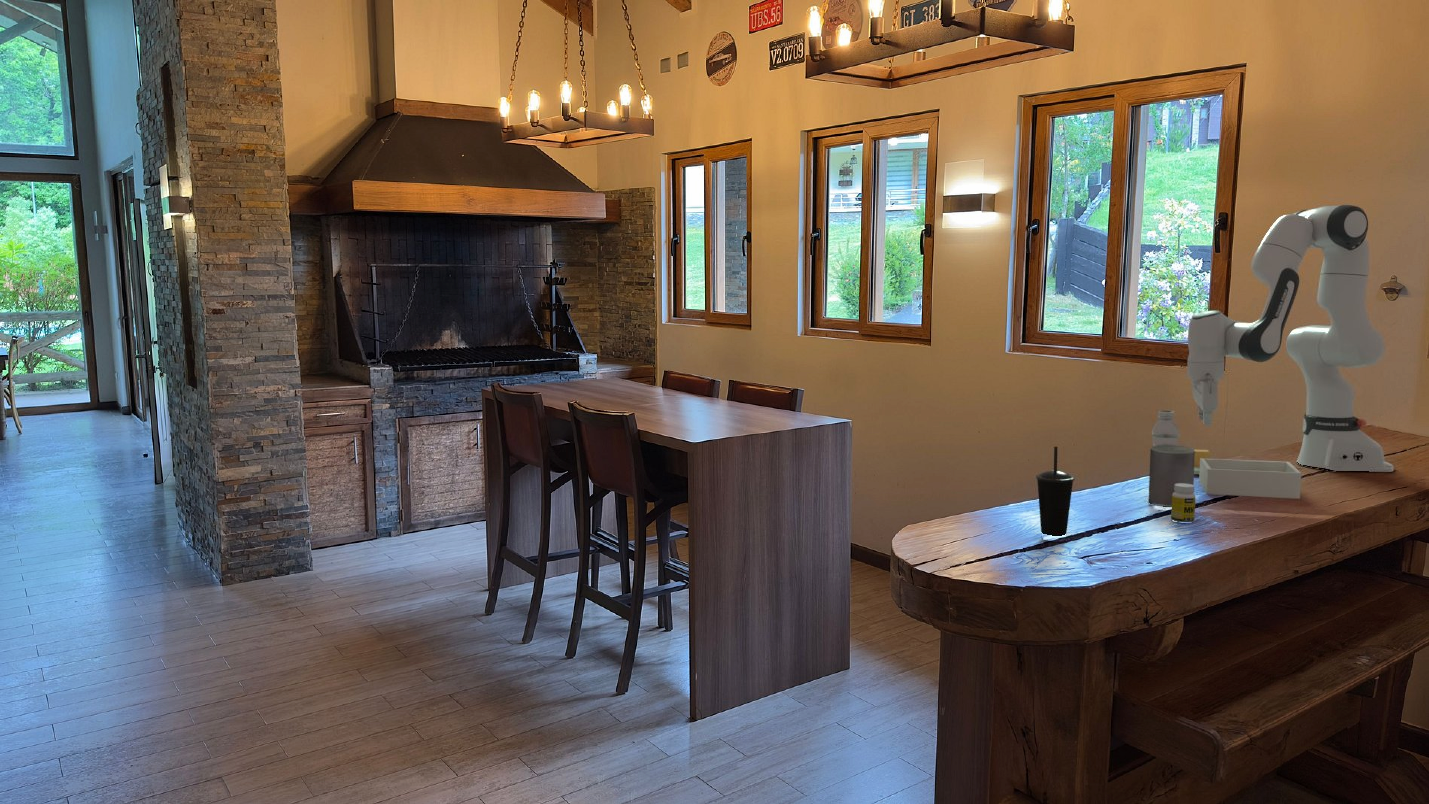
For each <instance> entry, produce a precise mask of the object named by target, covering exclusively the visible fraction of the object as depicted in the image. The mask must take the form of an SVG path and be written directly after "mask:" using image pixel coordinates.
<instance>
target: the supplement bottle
mask: <svg viewBox="0 0 1429 804" xmlns="http://www.w3.org/2000/svg"><path fill="white" fill-rule="evenodd" d="M1174 491H1175V492H1174V493H1173V494H1172V509H1170V510H1171V511H1170V512H1171V513H1170V520H1171V519H1172V520H1174V521H1177V522H1194V523H1195V519H1196V518H1195V515H1196V514H1195V513H1196V497H1197V496H1196V494H1195V485H1192V484H1185V483H1177V484H1175V485H1174Z"/></svg>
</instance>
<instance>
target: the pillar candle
mask: <svg viewBox="0 0 1429 804" xmlns="http://www.w3.org/2000/svg"><path fill="white" fill-rule="evenodd" d="M1194 449H1195V448H1193V447H1190V446H1186V445H1178V444H1177V445H1173V443H1172V445H1157V446H1151V447H1150V454H1149V456H1150V457H1149V476H1148V477H1149V481H1148V502H1147V503H1148V504H1149V503H1150V504H1154V505H1159V506H1163V507H1172V494H1173V493H1174V492H1175V491H1174V485H1175V484H1177V483H1185V484H1192V485H1194V483H1195V481H1194V478H1195V477H1194V476H1195V474H1194V458H1195V450H1196V449H1195V450H1194ZM1194 486H1195V485H1194ZM1150 504H1149V505H1150Z"/></svg>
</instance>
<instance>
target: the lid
mask: <svg viewBox="0 0 1429 804" xmlns="http://www.w3.org/2000/svg"><path fill="white" fill-rule="evenodd" d="M1193 449H1194V450H1195V458H1194V475H1200V458H1203V459H1210V451H1209V450H1208V449H1195V448H1193Z"/></svg>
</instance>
